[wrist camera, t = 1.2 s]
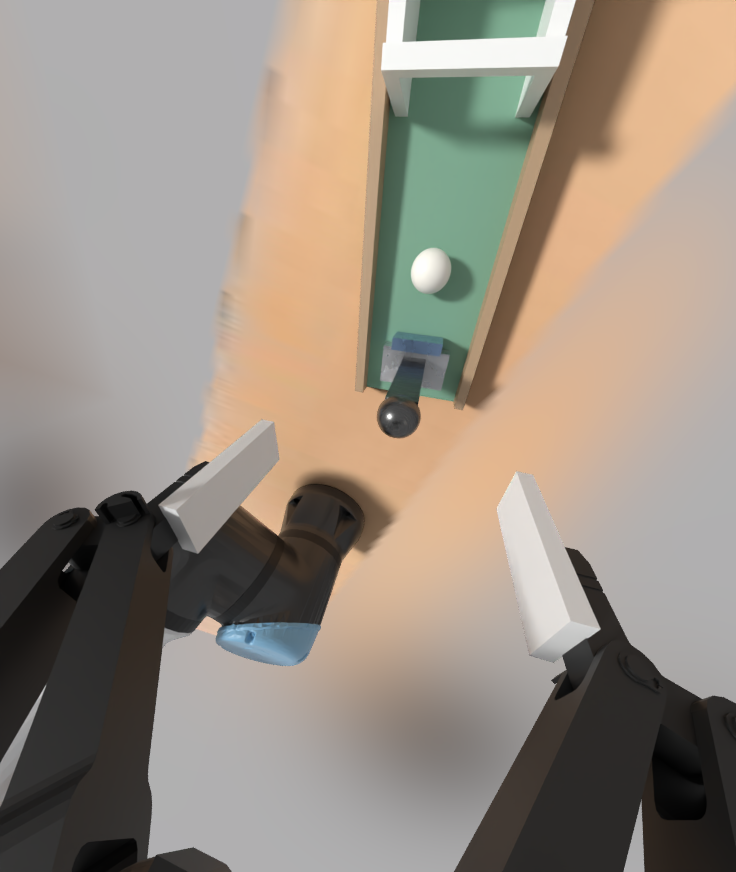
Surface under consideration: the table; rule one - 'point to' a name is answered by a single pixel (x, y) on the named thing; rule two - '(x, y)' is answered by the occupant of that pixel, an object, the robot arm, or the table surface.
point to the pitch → (451, 187)
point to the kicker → (409, 379)
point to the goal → (472, 55)
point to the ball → (431, 270)
